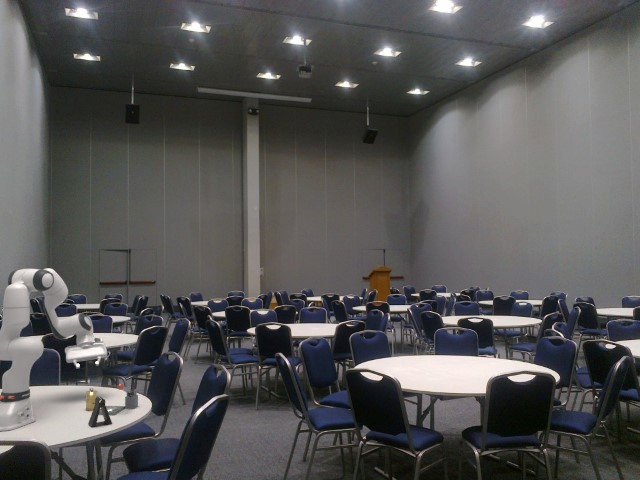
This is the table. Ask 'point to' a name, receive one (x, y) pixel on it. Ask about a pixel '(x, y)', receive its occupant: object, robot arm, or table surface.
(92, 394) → the gold upright cylinder
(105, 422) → the black triangular frame
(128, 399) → the lever post
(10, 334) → the robot arm
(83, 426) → the table surface
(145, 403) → the table surface
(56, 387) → the table surface
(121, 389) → the press lever
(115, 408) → the press bed
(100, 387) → the table surface
